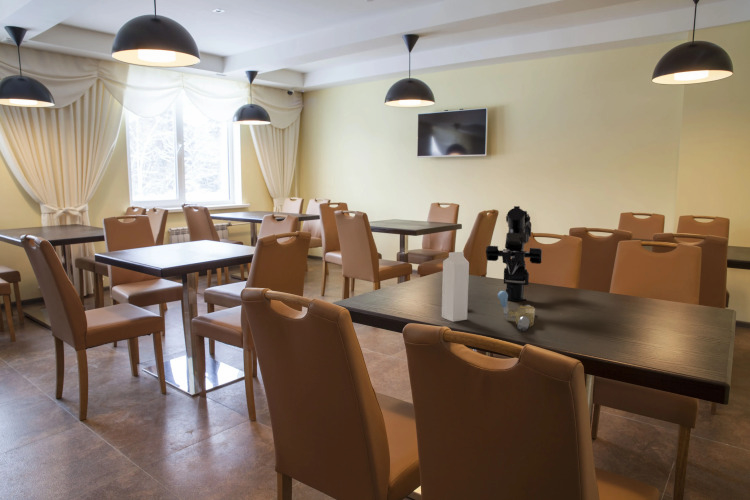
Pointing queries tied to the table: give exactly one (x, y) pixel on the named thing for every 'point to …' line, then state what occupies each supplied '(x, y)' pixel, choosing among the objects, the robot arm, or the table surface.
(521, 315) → the valve
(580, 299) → the table surface
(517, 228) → the robot arm
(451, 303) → the milk
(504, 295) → the lever
